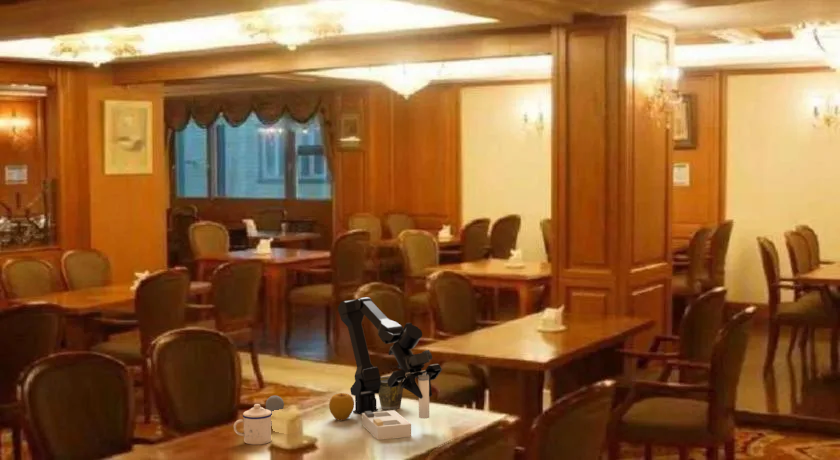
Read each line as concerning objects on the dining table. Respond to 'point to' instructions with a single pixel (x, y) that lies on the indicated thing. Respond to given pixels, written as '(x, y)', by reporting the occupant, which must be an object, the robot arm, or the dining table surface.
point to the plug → (424, 395)
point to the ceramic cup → (390, 394)
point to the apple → (341, 406)
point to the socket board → (386, 424)
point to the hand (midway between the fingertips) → (426, 396)
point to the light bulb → (274, 403)
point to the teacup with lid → (256, 425)
